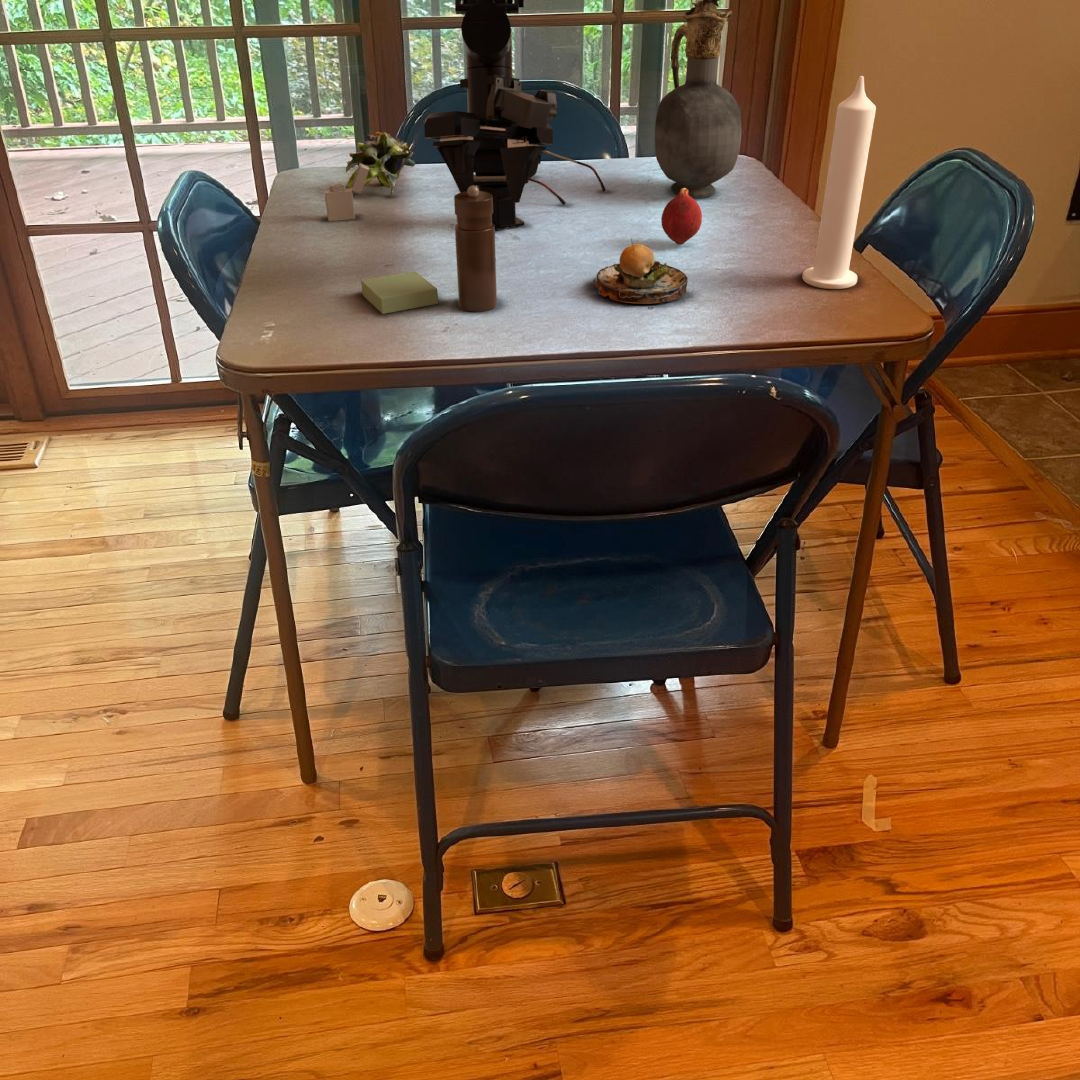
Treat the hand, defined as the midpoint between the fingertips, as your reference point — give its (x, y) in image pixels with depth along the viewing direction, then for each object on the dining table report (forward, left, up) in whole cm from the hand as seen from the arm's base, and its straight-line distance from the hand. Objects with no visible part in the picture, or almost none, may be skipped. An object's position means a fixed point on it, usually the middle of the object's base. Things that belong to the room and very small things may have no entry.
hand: (492, 202), depth 130 cm
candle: (+22, +39, -10) cm, 46 cm away
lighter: (-36, -8, -10) cm, 38 cm away
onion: (0, +30, -10) cm, 31 cm away
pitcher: (-24, +48, -10) cm, 54 cm away
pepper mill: (+8, -6, -10) cm, 14 cm away
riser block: (+2, -14, -10) cm, 18 cm away
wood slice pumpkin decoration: (+13, +15, -10) cm, 22 cm away
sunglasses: (-35, +27, -10) cm, 45 cm away
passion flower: (-48, +2, -10) cm, 49 cm away
